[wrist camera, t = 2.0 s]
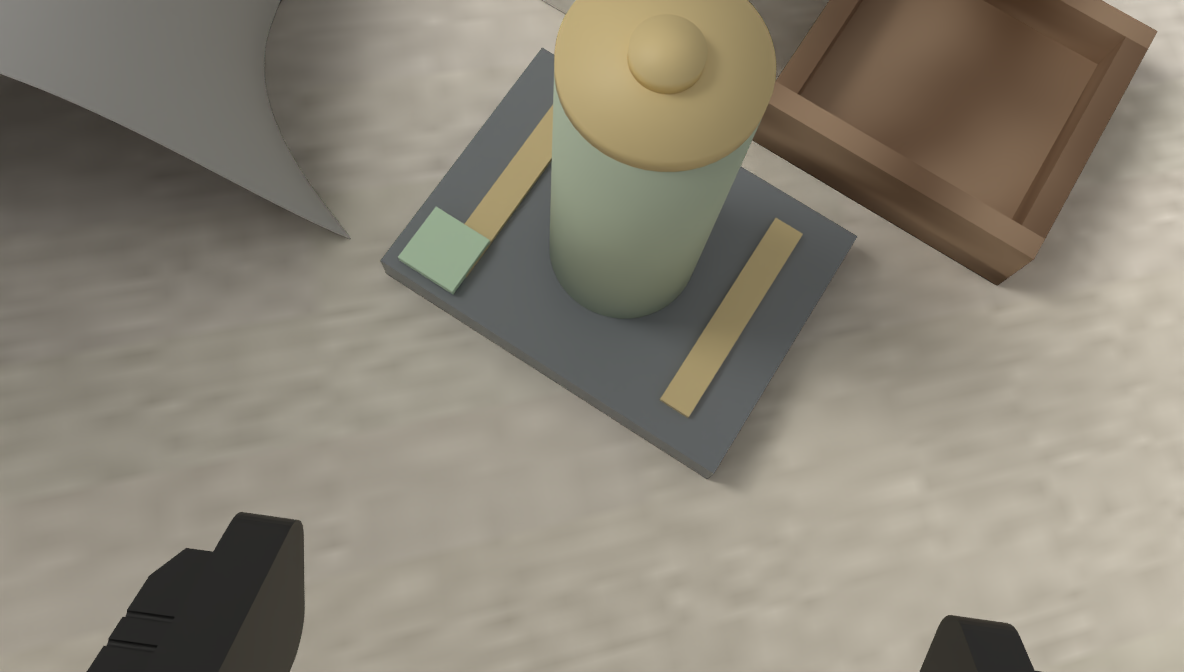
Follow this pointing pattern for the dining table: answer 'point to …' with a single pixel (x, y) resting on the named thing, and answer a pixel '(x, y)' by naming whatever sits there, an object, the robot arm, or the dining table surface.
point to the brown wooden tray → (956, 114)
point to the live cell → (649, 141)
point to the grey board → (611, 345)
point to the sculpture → (167, 81)
